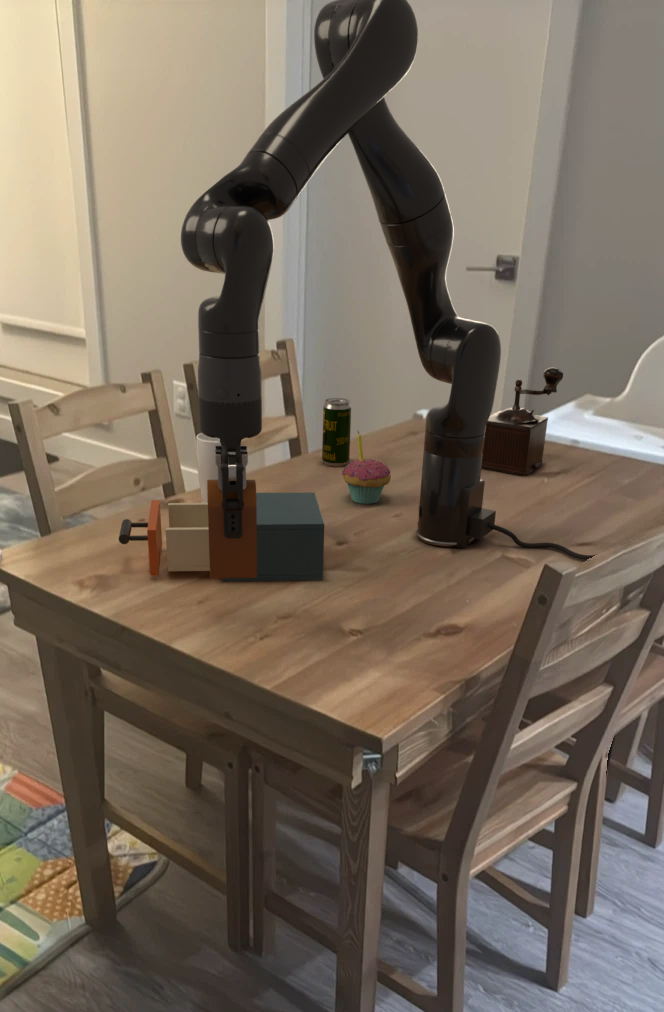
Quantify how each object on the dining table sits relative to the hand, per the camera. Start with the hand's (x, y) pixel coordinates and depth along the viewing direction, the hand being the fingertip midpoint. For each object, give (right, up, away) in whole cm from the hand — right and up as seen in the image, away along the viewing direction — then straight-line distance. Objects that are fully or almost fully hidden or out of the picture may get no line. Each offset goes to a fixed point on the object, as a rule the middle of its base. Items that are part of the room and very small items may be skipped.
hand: (232, 528), depth 126 cm
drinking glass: (-6, +7, +35) cm, 36 cm away
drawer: (-9, 0, +21) cm, 23 cm away
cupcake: (+19, +15, +50) cm, 55 cm away
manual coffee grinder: (+50, +27, +73) cm, 92 cm away
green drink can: (+13, +26, +69) cm, 75 cm away
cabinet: (+3, -1, +23) cm, 23 cm away
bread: (0, -5, +3) cm, 6 cm away
